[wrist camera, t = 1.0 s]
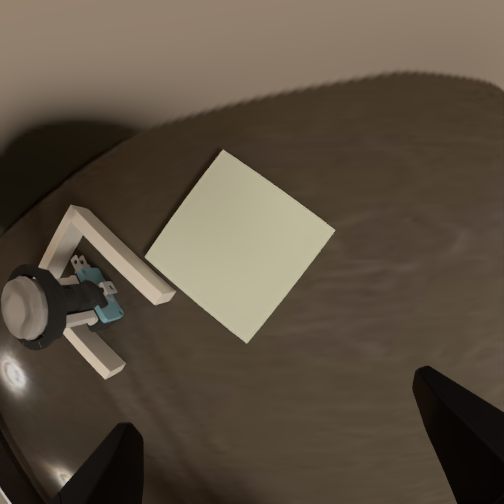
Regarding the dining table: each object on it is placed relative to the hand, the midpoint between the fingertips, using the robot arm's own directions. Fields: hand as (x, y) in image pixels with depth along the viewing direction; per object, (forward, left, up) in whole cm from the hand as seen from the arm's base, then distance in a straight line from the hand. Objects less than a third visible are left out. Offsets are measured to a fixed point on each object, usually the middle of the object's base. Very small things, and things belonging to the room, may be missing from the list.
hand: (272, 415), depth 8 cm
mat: (+2, +7, -14) cm, 15 cm away
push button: (-8, +14, -14) cm, 21 cm away
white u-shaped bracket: (-8, +14, -14) cm, 21 cm away
